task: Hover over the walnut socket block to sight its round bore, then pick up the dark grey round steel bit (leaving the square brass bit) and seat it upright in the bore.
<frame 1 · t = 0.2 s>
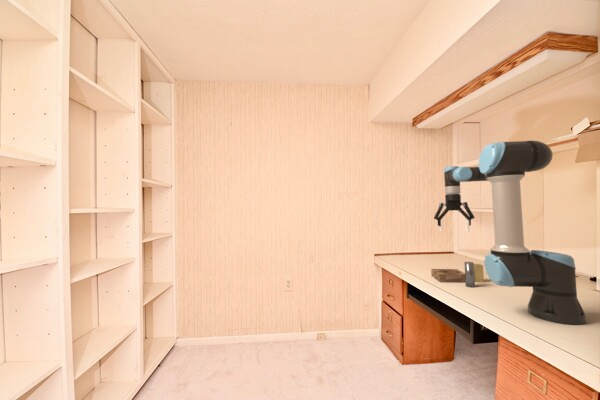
hand: (454, 231, 149), 26 cm above the table, fingers open, 13 cm apart
square bit: (477, 281, 143), on the table
socket block: (448, 279, 149), on the table
round bit: (470, 286, 134), on the table
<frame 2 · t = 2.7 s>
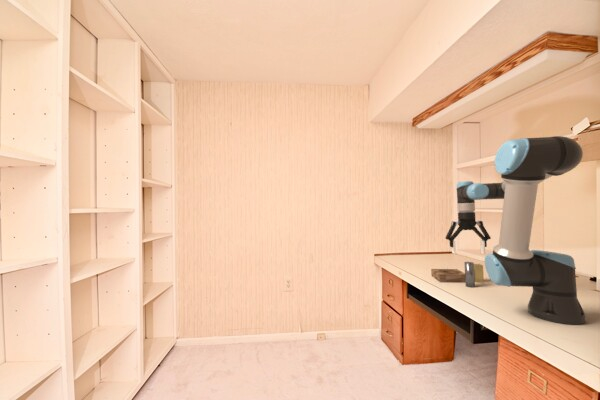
hand: (468, 253, 135), 16 cm above the table, fingers open, 13 cm apart
nothing on the table moved.
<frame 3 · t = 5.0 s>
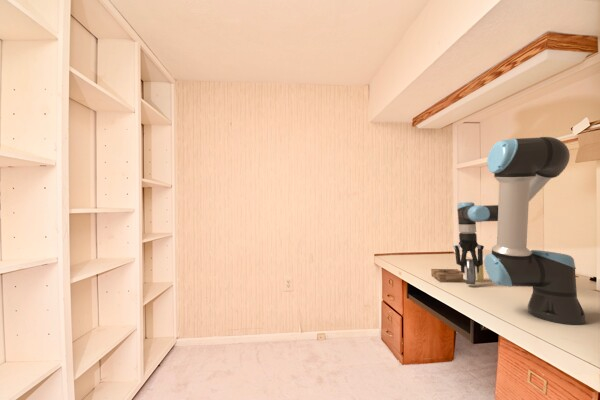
hand: (470, 279, 134), 4 cm above the table, fingers closed on round bit, 4 cm apart
round bit: (470, 283, 134), point 2 cm above the table, touching gripper
everything else where it was.
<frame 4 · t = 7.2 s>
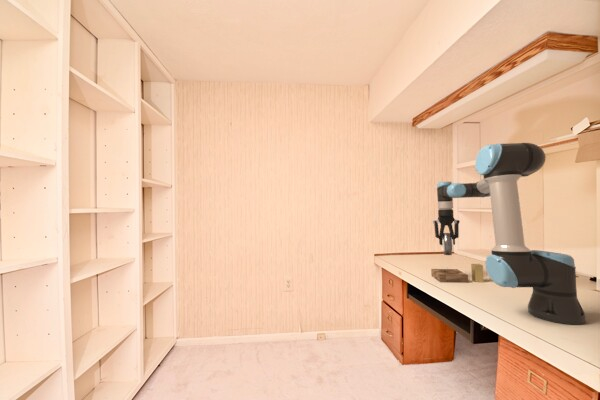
hand: (447, 250, 149), 16 cm above the table, fingers closed on round bit, 4 cm apart
round bit: (447, 254, 149), point 14 cm above the table, touching gripper
everything else where it was.
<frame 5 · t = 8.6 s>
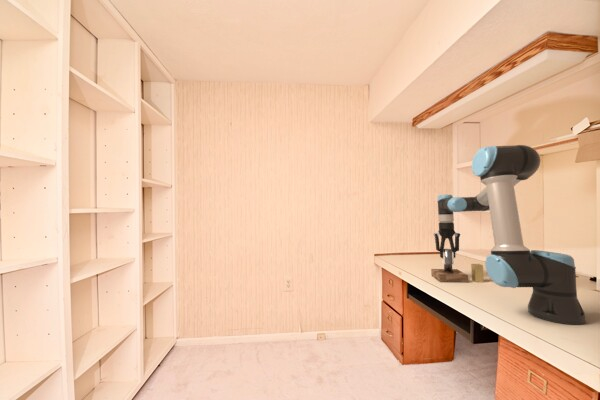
hand: (448, 263, 149), 9 cm above the table, fingers closed on round bit, 4 cm apart
round bit: (448, 270, 149), point 5 cm above the table, touching gripper
everything else where it was.
when the fingers open (5 cm above the table, at t = 9.7 s): round bit stays where it is, resting on socket block.
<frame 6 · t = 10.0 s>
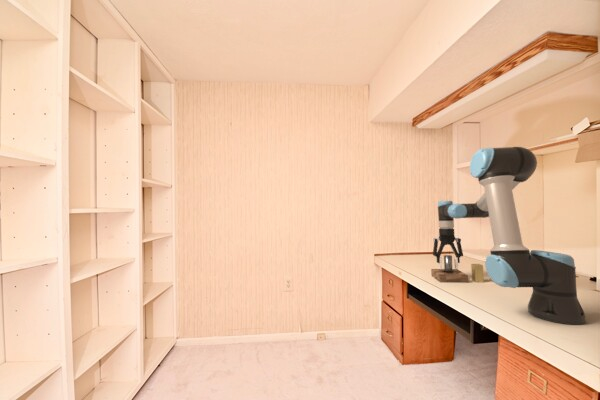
hand: (448, 268, 149), 6 cm above the table, fingers open, 8 cm apart
round bit: (448, 277, 149), point 1 cm above the table, touching socket block
everything else where it was.
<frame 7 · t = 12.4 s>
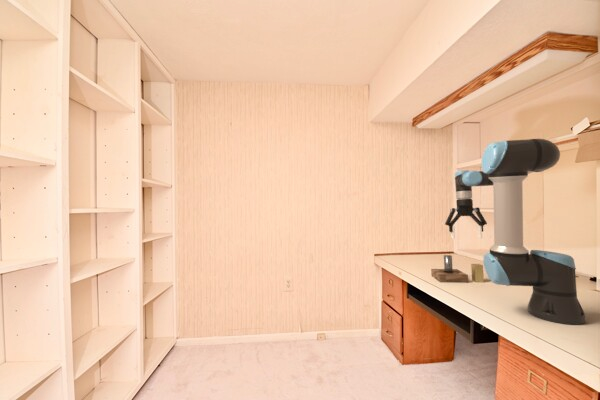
hand: (466, 238, 144), 23 cm above the table, fingers open, 13 cm apart
nothing on the table moved.
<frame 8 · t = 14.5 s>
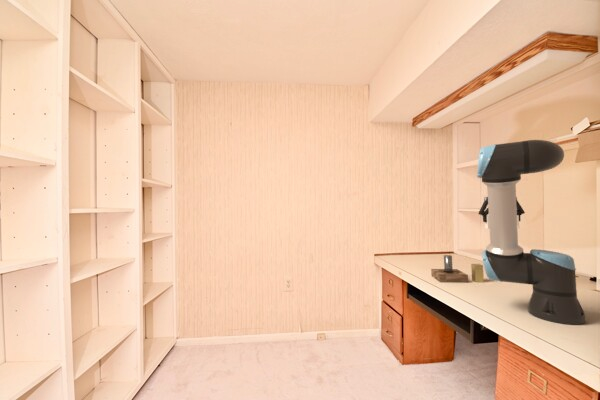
hand: (501, 228, 136), 29 cm above the table, fingers open, 13 cm apart
nothing on the table moved.
at the end: round bit 0.0 cm off-centre on the socket block, point 1.0 cm above the socket block's base; round bit tilted 0°; the gripper is holding nothing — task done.
